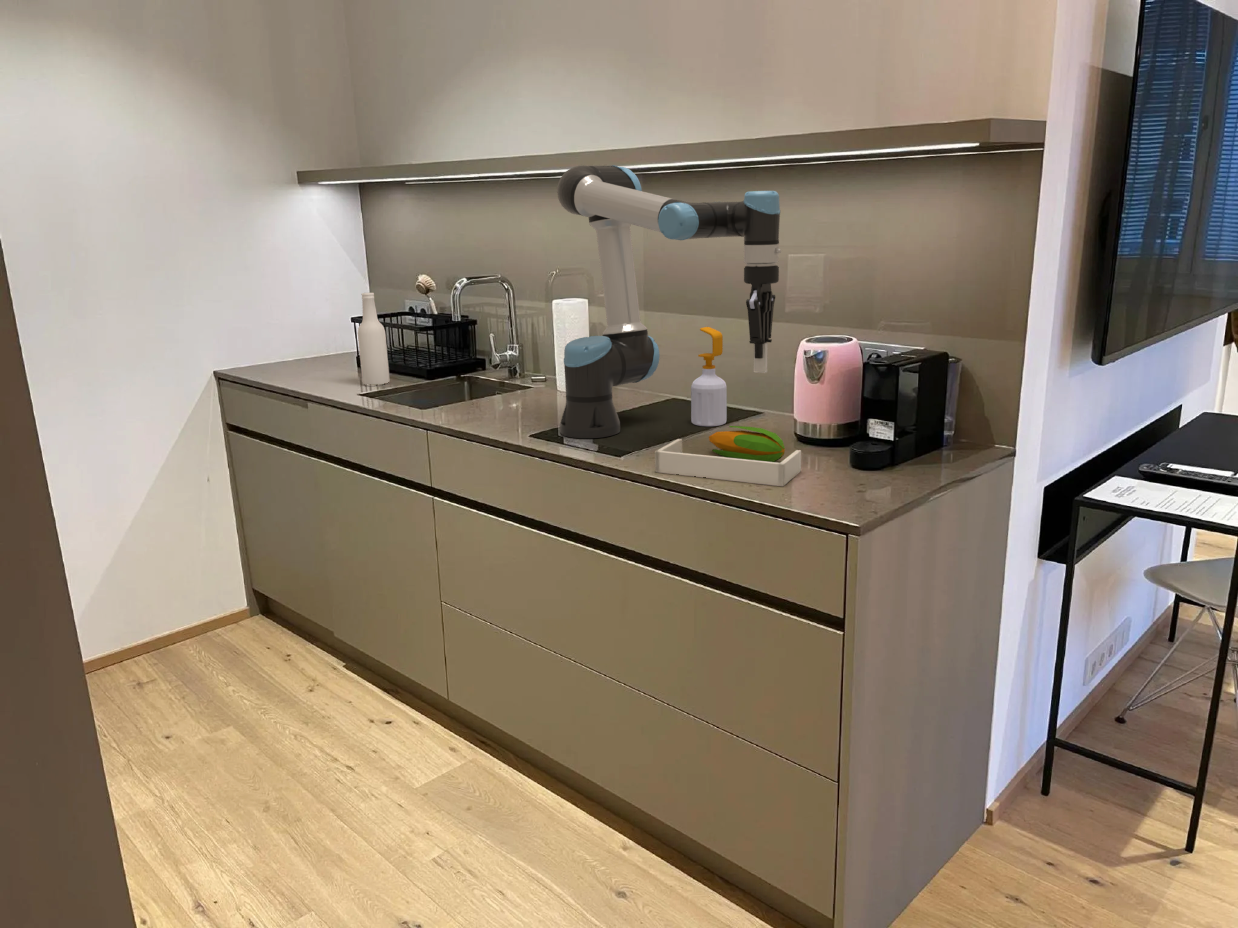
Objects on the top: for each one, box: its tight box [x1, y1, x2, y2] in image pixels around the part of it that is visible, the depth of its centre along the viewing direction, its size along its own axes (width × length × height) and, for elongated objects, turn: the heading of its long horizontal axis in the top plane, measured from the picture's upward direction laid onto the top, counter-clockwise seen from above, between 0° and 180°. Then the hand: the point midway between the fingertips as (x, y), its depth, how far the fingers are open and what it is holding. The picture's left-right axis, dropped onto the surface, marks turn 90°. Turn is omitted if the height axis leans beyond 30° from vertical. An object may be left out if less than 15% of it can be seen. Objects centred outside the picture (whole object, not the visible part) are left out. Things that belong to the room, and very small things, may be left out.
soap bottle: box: [690, 326, 728, 427], centre depth 238 cm, size 9×9×25 cm
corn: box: [708, 425, 786, 462], centre depth 205 cm, size 7×8×20 cm
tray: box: [654, 438, 802, 487], centre depth 195 cm, size 28×12×4 cm, turn 63°
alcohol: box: [357, 292, 391, 385], centre depth 306 cm, size 9×9×30 cm
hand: (760, 372), depth 208 cm, fingers closed
